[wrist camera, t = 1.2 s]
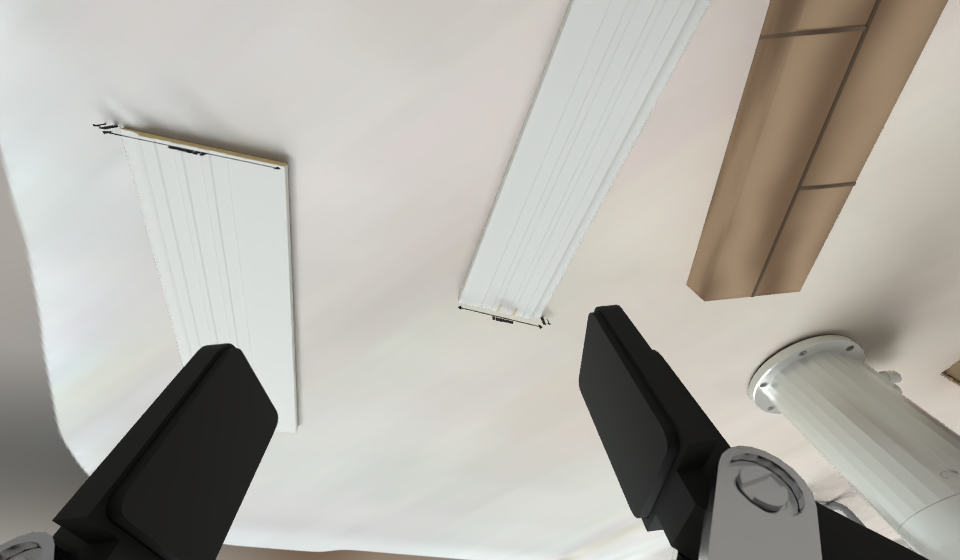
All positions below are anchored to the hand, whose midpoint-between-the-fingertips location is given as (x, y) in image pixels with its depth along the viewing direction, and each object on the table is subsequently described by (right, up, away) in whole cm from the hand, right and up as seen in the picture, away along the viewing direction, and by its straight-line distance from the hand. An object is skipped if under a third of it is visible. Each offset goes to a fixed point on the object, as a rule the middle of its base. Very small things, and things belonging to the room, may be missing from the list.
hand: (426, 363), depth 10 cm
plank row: (+25, +14, +17) cm, 34 cm away
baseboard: (+9, +12, +18) cm, 23 cm away
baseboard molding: (-22, -1, +23) cm, 32 cm away
